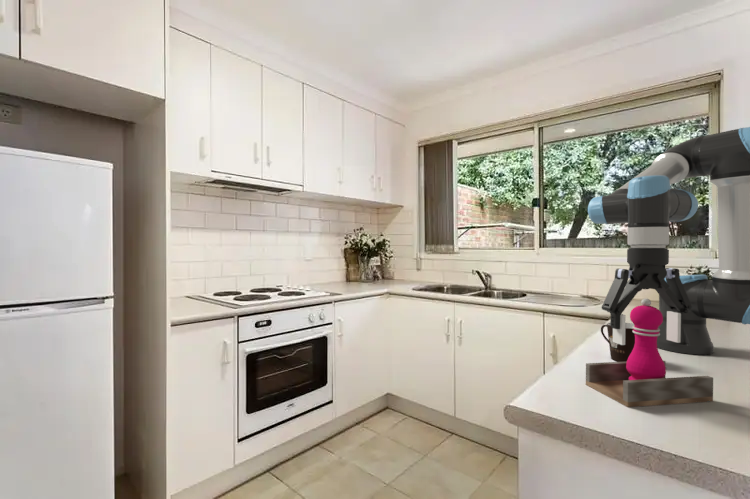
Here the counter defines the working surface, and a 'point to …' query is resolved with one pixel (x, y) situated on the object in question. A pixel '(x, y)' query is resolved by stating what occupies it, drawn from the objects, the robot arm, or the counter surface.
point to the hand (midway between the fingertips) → (646, 342)
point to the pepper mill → (645, 343)
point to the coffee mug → (617, 350)
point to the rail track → (646, 386)
